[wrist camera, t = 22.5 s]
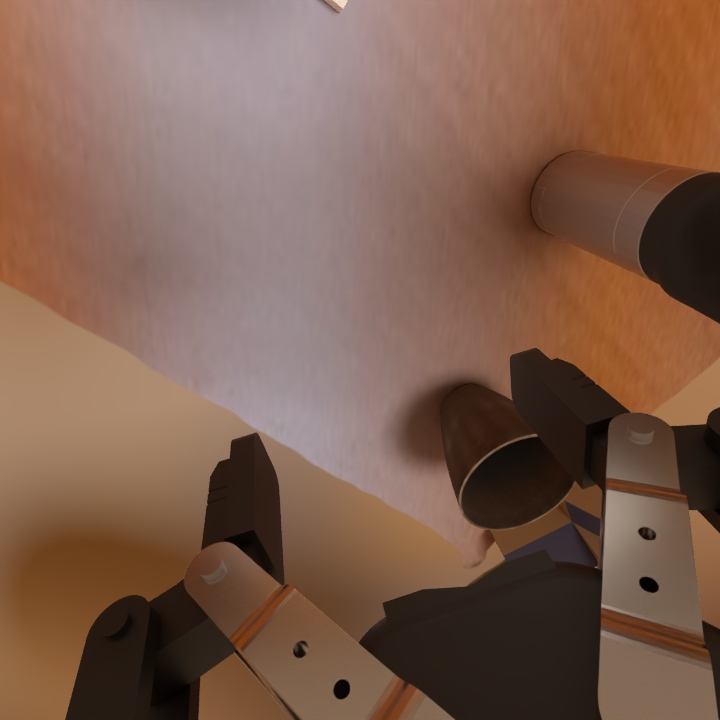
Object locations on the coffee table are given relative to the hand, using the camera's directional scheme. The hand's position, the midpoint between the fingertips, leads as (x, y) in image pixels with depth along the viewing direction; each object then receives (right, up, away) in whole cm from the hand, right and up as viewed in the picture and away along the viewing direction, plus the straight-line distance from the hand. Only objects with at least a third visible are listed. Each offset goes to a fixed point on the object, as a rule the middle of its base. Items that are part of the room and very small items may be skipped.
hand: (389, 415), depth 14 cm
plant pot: (+14, -5, +51) cm, 53 cm away
